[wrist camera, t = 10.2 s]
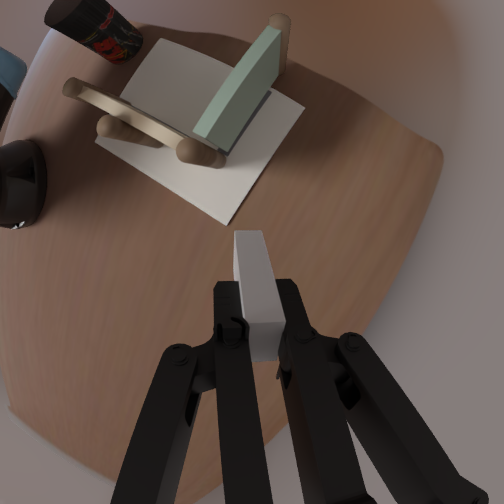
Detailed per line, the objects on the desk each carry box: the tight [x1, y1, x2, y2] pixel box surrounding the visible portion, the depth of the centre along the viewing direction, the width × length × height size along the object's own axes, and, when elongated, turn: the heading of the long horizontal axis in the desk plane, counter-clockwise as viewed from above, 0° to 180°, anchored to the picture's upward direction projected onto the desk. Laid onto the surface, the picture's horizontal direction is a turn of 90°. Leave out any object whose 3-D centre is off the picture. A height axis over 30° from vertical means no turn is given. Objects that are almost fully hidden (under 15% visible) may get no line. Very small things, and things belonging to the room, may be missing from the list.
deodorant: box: [44, 0, 143, 64], centre depth 20 cm, size 6×6×15 cm
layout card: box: [95, 38, 305, 226], centre depth 30 cm, size 22×17×1 cm
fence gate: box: [192, 13, 291, 152], centre depth 23 cm, size 13×2×11 cm, turn 149°
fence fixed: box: [63, 77, 226, 169], centre depth 25 cm, size 17×4×12 cm, turn 57°
